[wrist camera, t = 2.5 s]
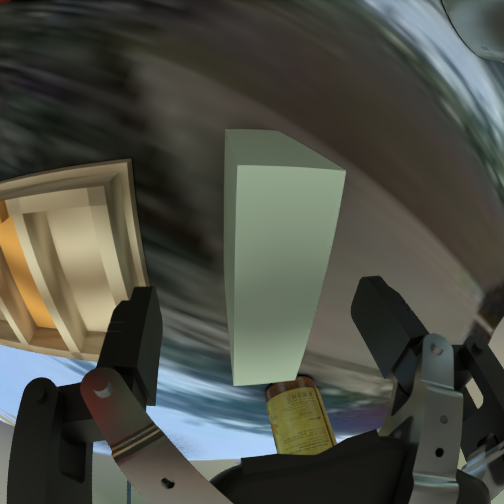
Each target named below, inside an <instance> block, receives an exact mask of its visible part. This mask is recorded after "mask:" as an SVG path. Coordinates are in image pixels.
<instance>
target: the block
mask: <svg viewBox="0 0 504 504" xmlns="http://www.w3.org/2000/svg"><path fill="white" fill-rule="evenodd" d="M345 175H346V171H345V170H344V169H342V168H341V167H339V166H338V165H336V164H335V163H333V162H331V161H330V160H328V159H327V158H325V157H323V156H322V155H320V154H318V153H317V152H315V151H313V150H312V149H310V148H308V147H306V146H305V145H303V144H301V143H299V142H298V141H296V140H294V139H292V138H290V137H289V136H287V135H285V134H283V133H281V132H279V131H275V130H255V129H225V160H224V283H225V296H226V309H227V321H228V332H229V343H230V354H231V364H232V374H233V383H234V386H240V385H254V384H265V383H275V382H284V381H292V380H295V379H296V376H297V373H298V370H299V367H300V363H301V360H302V357H303V354H304V351H305V347H306V344H307V341H308V337H309V334H310V331H311V327H312V324H313V320H314V316H315V313H316V309H317V305H318V302H319V298H320V294H321V290H322V286H323V282H324V278H325V274H326V270H327V266H328V261H329V257H330V252H331V248H332V243H333V239H334V234H335V229H336V224H337V219H338V214H339V209H340V204H341V198H342V193H343V187H344V181H345Z"/></svg>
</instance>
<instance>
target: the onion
mask: <svg viewBox="0 0 504 504" xmlns="http://www.w3.org/2000/svg"><path fill="white" fill-rule="evenodd" d="M9 1H11V0H0V4H4V3H6V2H9Z"/></svg>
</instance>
